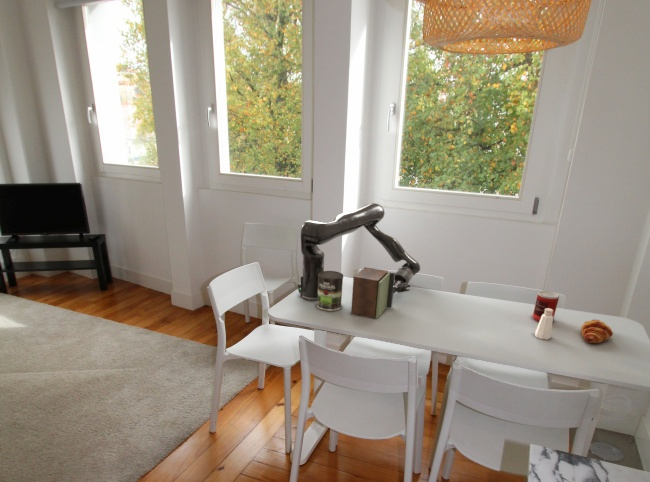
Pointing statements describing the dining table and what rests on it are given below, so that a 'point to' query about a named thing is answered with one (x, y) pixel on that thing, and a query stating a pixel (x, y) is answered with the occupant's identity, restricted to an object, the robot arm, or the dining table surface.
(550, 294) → the canned food
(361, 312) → the closet
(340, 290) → the coffee can
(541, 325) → the pepper shaker
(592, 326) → the croissant
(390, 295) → the sliding door
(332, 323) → the dining table surface
